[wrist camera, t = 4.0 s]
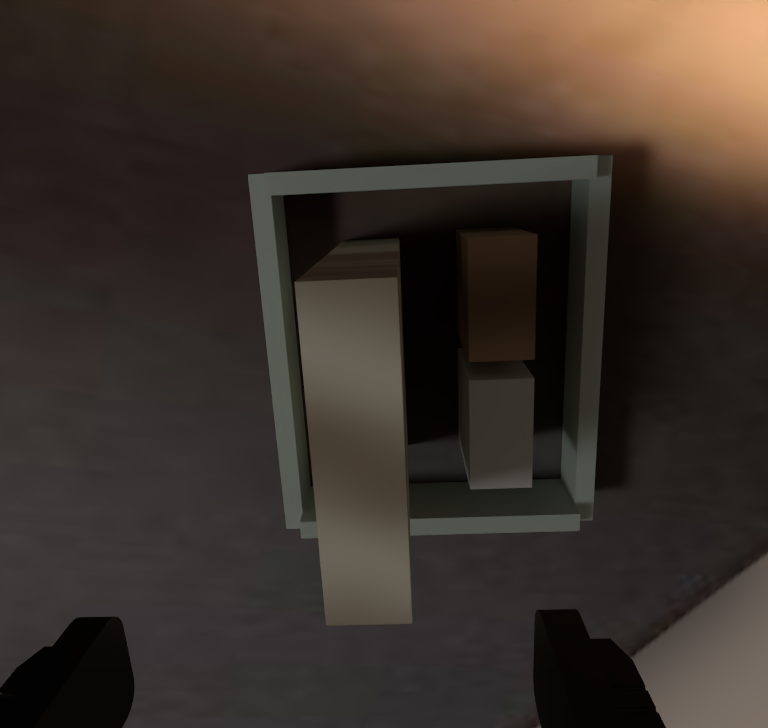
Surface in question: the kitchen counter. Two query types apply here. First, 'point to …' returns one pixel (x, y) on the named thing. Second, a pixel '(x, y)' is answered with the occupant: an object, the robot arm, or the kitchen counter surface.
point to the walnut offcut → (496, 293)
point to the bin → (582, 358)
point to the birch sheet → (358, 430)
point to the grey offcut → (496, 422)
